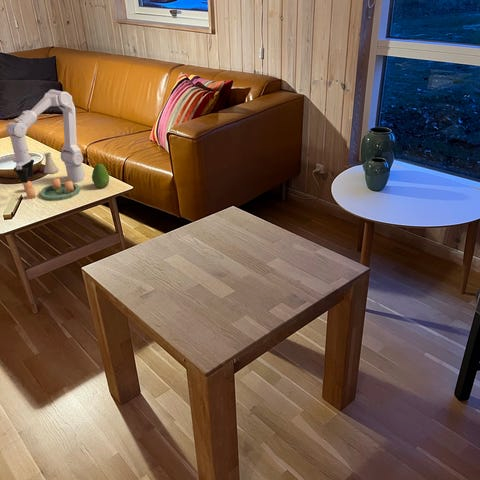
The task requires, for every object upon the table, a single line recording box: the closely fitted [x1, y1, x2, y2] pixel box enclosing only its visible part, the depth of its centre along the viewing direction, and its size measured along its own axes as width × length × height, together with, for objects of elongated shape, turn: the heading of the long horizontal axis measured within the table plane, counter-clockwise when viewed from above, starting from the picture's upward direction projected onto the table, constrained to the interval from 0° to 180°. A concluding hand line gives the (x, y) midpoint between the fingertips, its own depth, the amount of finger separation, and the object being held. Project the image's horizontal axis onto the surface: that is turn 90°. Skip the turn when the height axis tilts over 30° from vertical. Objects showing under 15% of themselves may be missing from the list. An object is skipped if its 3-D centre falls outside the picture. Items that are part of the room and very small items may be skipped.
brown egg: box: [22, 180, 33, 193], centre depth 218 cm, size 4×4×5 cm
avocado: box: [91, 163, 110, 189], centre depth 221 cm, size 8×8×12 cm
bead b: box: [51, 177, 62, 191], centre depth 219 cm, size 4×4×5 cm
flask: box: [43, 152, 59, 175], centre depth 240 cm, size 7×7×10 cm
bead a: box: [63, 180, 74, 194], centre depth 216 cm, size 4×4×5 cm
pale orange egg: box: [24, 186, 37, 200], centre depth 212 cm, size 4×4×5 cm
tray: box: [39, 182, 81, 201], centre depth 217 cm, size 17×17×2 cm
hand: (27, 179), depth 208 cm, fingers open, 7 cm apart
